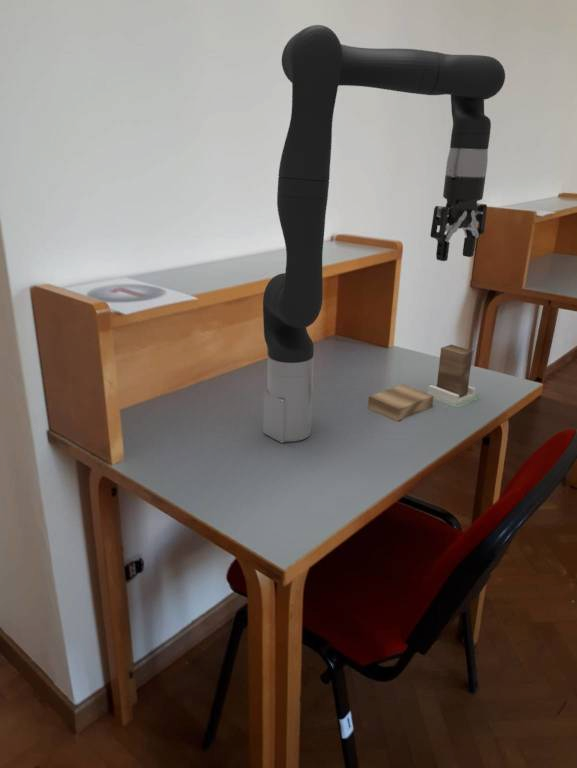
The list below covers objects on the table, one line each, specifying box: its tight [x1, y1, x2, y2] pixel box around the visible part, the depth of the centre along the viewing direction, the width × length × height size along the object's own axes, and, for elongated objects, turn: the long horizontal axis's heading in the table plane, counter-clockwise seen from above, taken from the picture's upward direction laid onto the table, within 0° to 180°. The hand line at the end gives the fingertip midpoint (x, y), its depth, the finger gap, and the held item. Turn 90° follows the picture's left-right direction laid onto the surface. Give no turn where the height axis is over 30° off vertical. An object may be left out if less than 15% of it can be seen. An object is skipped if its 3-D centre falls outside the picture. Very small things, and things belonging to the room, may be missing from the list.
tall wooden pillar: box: [436, 344, 474, 398], centre depth 151 cm, size 4×6×11 cm, turn 41°
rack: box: [426, 384, 477, 406], centre depth 153 cm, size 8×8×2 cm
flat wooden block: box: [367, 383, 434, 422], centre depth 146 cm, size 12×9×3 cm
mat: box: [426, 391, 480, 408], centre depth 153 cm, size 9×10×1 cm
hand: (454, 258), depth 128 cm, fingers open, 8 cm apart
